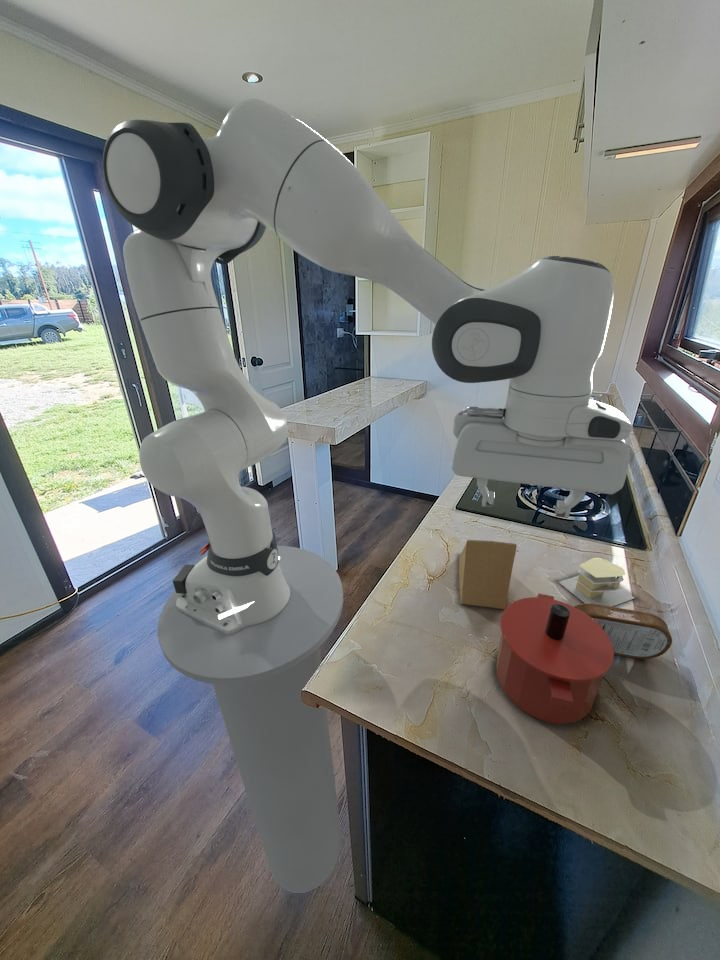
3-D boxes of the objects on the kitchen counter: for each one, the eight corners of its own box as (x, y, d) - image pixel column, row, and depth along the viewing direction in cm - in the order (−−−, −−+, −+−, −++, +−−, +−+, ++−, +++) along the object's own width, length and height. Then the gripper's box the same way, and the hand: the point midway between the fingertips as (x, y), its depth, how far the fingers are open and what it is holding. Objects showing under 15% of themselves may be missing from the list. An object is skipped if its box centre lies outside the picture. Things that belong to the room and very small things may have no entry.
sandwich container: (497, 559, 86) (506, 501, 79) (506, 609, 72) (518, 544, 66) (458, 555, 88) (463, 498, 81) (459, 603, 74) (466, 539, 68)
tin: (657, 651, 63) (674, 613, 59) (665, 667, 60) (683, 629, 57) (557, 632, 67) (567, 596, 63) (560, 647, 64) (571, 610, 61)
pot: (496, 727, 53) (505, 681, 49) (496, 624, 69) (503, 583, 65) (607, 757, 49) (627, 711, 45) (580, 641, 65) (592, 599, 61)
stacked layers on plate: (595, 612, 71) (603, 589, 69) (558, 582, 79) (563, 560, 76) (635, 598, 74) (643, 575, 71) (595, 570, 81) (601, 549, 79)
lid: (500, 669, 51) (505, 639, 49) (499, 594, 64) (503, 568, 61) (625, 698, 47) (638, 667, 45) (598, 612, 59) (607, 584, 57)
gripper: (453, 412, 46) (443, 510, 53) (649, 427, 41) (612, 535, 47) (458, 399, 52) (448, 489, 58) (632, 410, 46) (600, 509, 52)
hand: (523, 510), depth 52 cm, fingers open, 8 cm apart
